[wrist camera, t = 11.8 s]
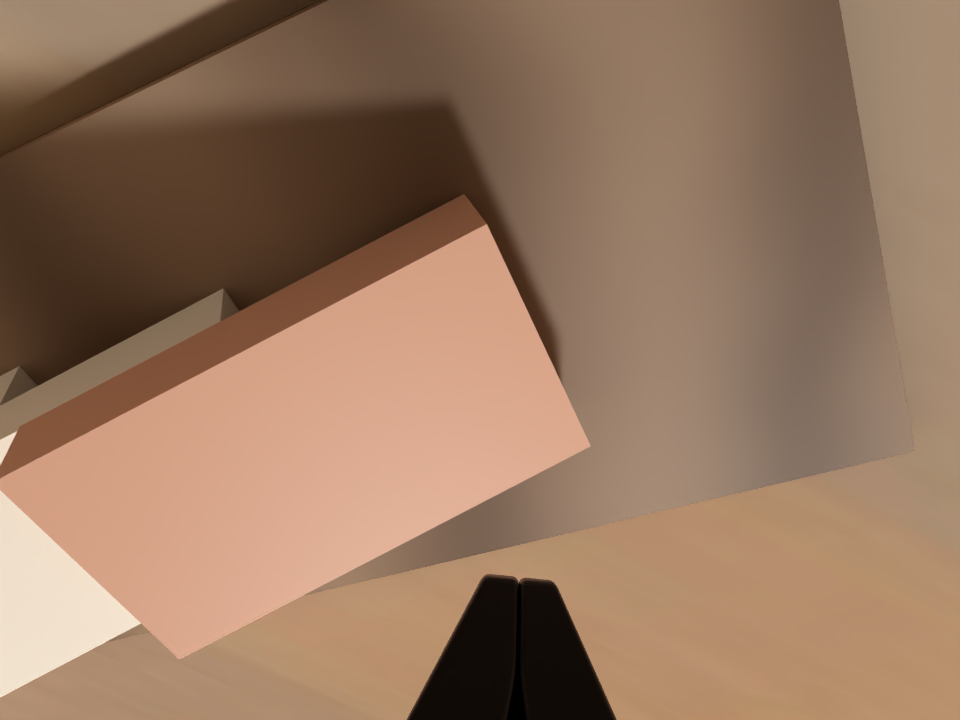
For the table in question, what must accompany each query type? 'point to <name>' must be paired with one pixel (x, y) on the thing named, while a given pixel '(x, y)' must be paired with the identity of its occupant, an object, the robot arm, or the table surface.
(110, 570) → the terracotta domino
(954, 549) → the table surface
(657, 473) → the walnut board
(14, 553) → the domino
